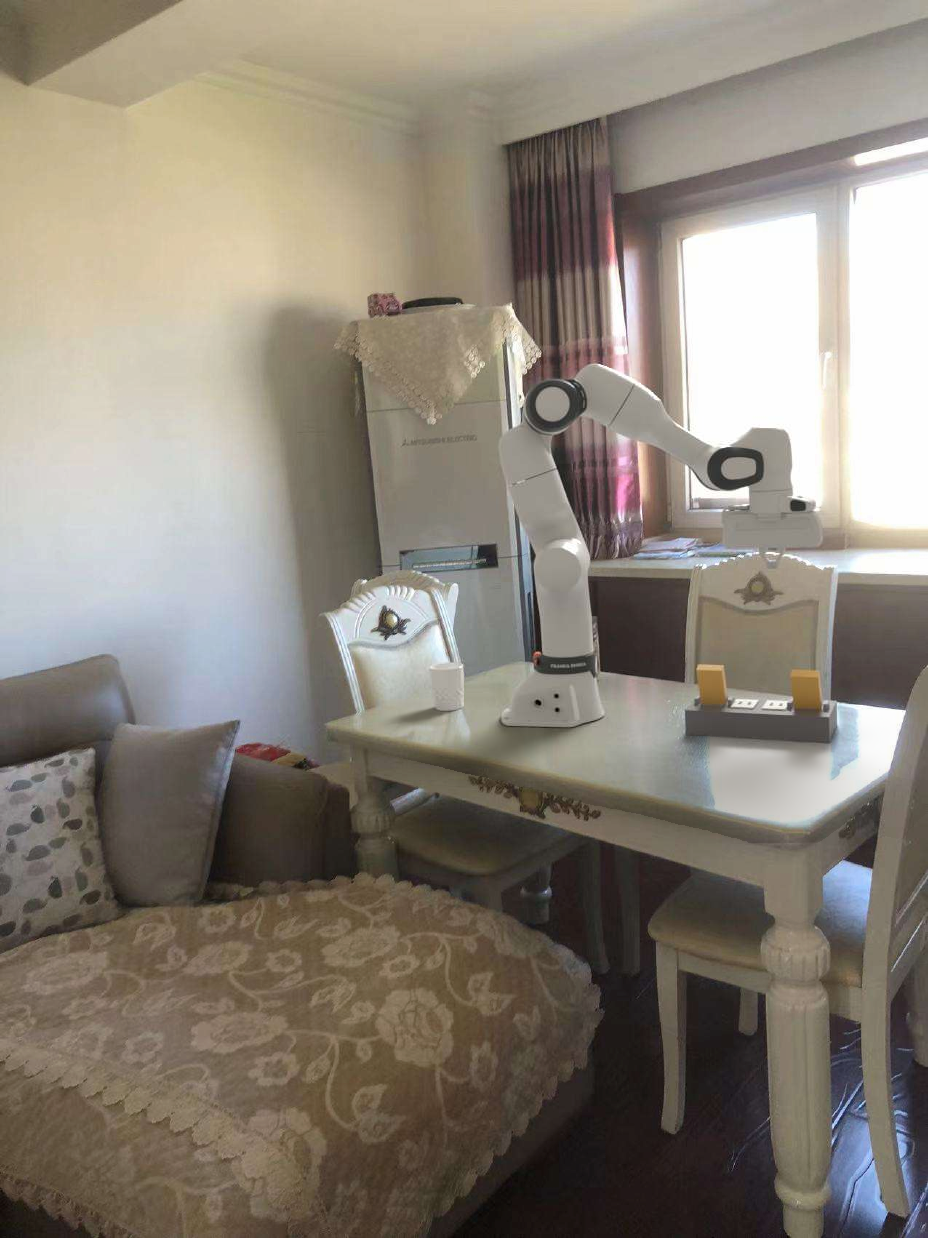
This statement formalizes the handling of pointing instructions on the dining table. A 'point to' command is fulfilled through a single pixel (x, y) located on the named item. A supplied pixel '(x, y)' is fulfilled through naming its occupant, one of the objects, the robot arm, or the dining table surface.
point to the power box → (762, 719)
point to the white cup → (447, 685)
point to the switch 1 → (712, 684)
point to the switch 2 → (806, 689)
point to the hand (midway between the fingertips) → (772, 568)
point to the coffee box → (596, 644)
